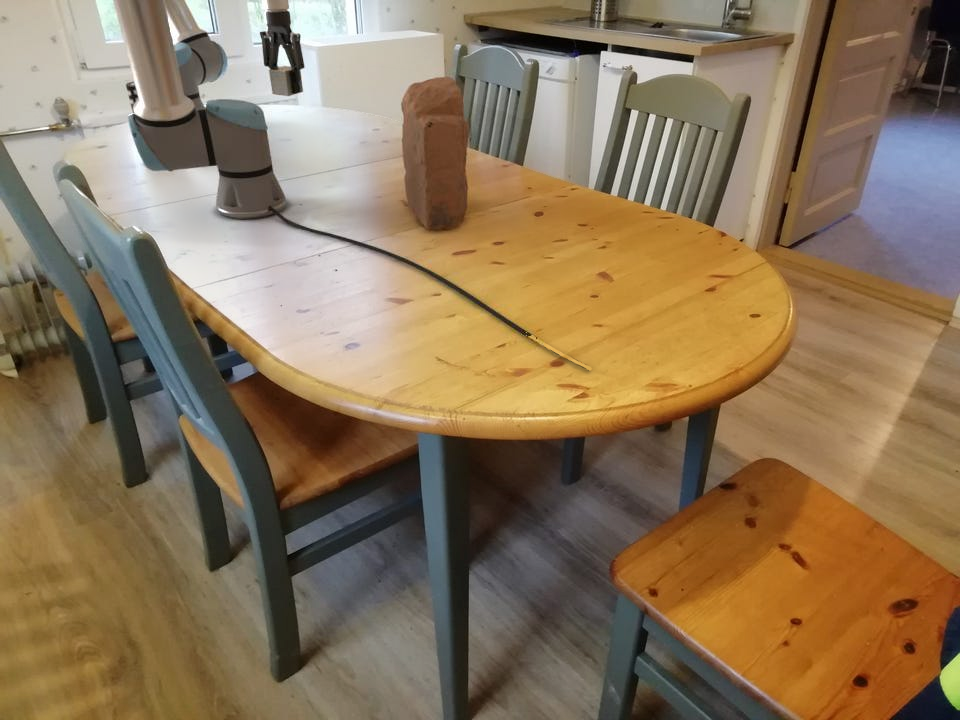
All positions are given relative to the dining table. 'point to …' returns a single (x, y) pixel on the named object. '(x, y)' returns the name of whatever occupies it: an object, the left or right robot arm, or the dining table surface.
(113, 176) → the dining table surface
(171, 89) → the right robot arm
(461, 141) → the stone
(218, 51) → the left robot arm
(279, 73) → the metallic grey cube
